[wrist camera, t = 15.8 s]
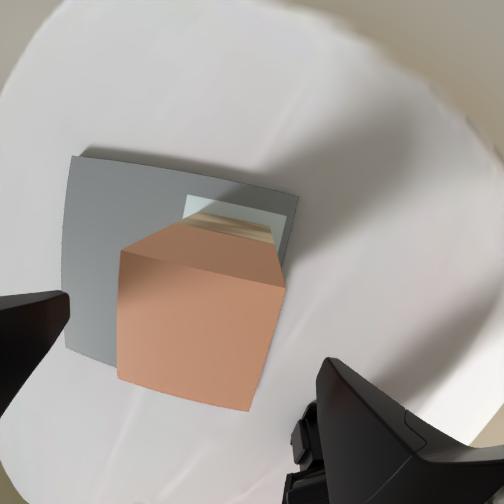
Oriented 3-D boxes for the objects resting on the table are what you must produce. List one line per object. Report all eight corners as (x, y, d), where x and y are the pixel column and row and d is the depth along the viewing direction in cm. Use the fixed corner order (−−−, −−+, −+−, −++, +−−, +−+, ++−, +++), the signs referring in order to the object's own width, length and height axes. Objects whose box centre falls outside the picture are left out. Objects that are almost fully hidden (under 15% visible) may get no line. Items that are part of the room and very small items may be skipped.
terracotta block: (274, 244, 14) (286, 288, 8) (252, 334, 15) (248, 411, 9) (174, 222, 14) (120, 249, 8) (161, 313, 15) (117, 378, 9)
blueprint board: (297, 196, 20) (299, 196, 19) (243, 394, 24) (243, 401, 23) (78, 156, 20) (71, 155, 19) (70, 342, 24) (65, 347, 23)
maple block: (269, 226, 20) (274, 243, 14) (254, 293, 21) (252, 333, 15) (198, 211, 20) (174, 223, 14) (187, 278, 21) (162, 313, 15)
